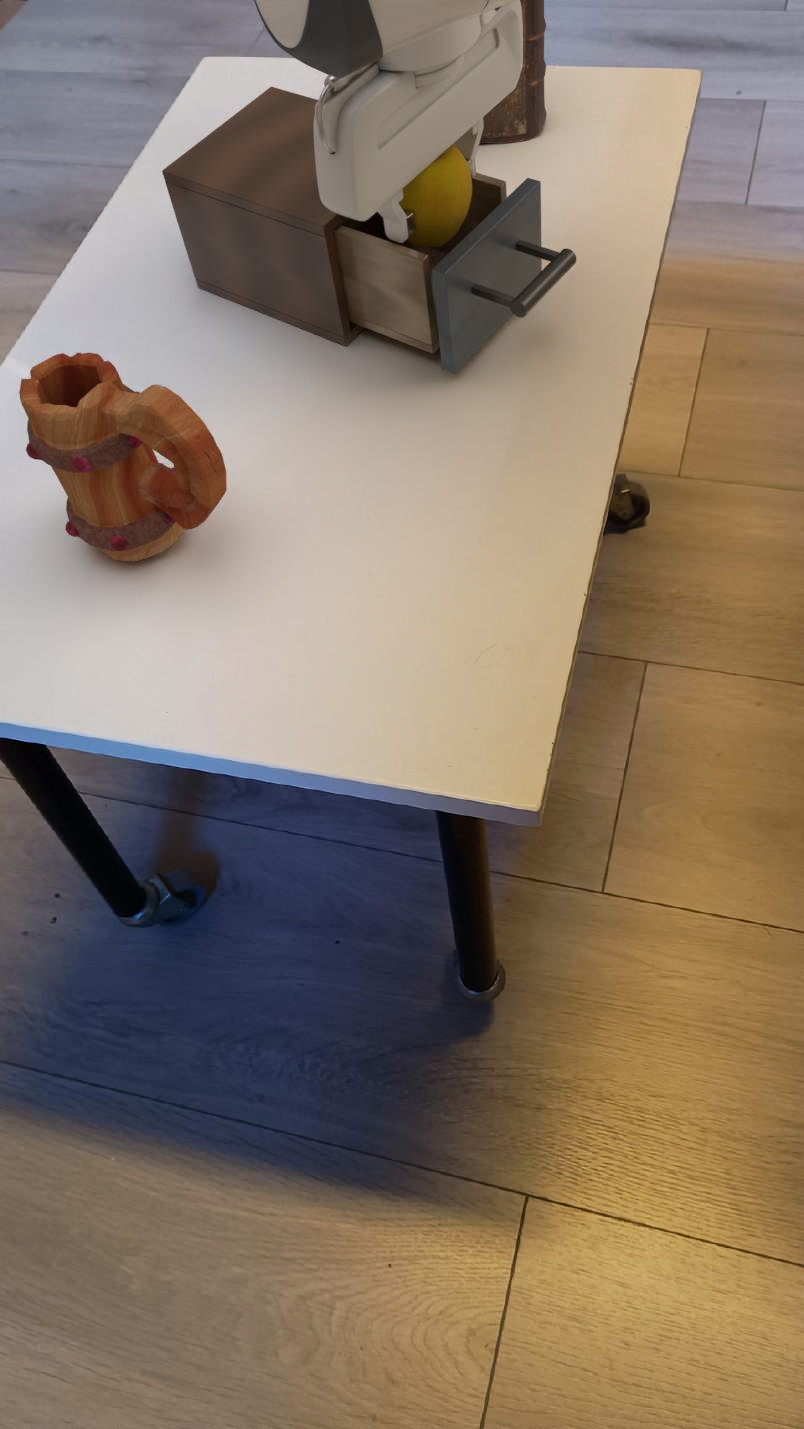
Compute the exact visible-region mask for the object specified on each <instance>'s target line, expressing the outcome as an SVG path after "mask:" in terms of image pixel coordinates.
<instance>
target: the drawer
mask: <svg viewBox="0 0 804 1429" xmlns="http://www.w3.org/2000/svg"><path fill="white" fill-rule="evenodd" d="M541 184H542V181H540V180H537V179H534V178H530V177H526V179H524V181H522V183H520V184H519V185H518V186H517V187H516V188H515V189H514V190H513V191H512V192H511V193H510V194H509V195H508V196H507V181H506V180H503V179H500V178H496V177H493V176H489V175H487V174H482V173H479V172H476V176H475V177H474V178H473V179H472V197H471V202H470V206H469V210H468V213H467V215H466V218H465V220H464V222H463V223H462V225H461V227H460V229H459V231H458V232H457V233H456V235H455V236H454V237H453V238H451V239H450V240H449V241H448V242H447V243H446V244H445V245H443V246H441V247H427V248H423V247H416V246H414V245H412V244H410V243H409V242H408V241H407V240H406V241H405V242H403V243H399V242H396V241H393V240H390V239H389V238H388V237H387V236H386V233H385V227H384V220H383V217H382V216H381V215H380V214H379V213H378V212H376V213H375V214H374V215H373V216H371V217H370V218H369V219H368V220H366V221H358V220H354V219H351V218H348V217H347V218H346V219H345V220H344V221H343V222H342V223H341V224H339V225H338V226H337V227H336V228H335V229H334V230H333V231H332V232H333V238H334V243H335V248H336V254H337V259H338V265H339V270H340V276H341V281H342V287H343V292H344V297H345V303H346V308H347V314H348V319H349V322H352V323H355V324H357V325H360V326H362V327H365V329H367V330H369V331H373V332H375V333H377V334H381V335H383V336H386V337H388V338H391V339H393V340H396V341H398V342H401V343H403V344H407V345H408V346H411V347H414V348H417V349H418V350H419V349H420V350H422V351H424V352H427V353H430V354H435V352H436V351H437V350H440V359H441V370H443V371H446V372H448V373H451V374H454V375H455V374H456V373H457V372H458V371H459V370H460V369H461V368H462V367H463V366H464V365H465V364H466V362H467V361H469V359H470V358H472V356H473V355H475V353H476V352H477V351H478V350H479V349H480V348H481V347H482V346H483V345H484V344H485V343H486V342H487V341H488V340H489V339H490V338H491V337H492V335H494V334H495V333H496V331H498V330H499V329H500V328H501V326H503V324H504V323H505V322H506V321H507V320H508V319H510V318H511V316H512V315H513V316H515V317H517V318H519V319H523V318H525V317H526V316H527V315H528V314H529V313H530V311H532V309H534V307H535V306H537V304H538V303H539V302H540V301H541V300H543V298H544V297H545V296H546V295H547V294H548V293H549V292H550V291H551V289H553V288H554V287H555V285H557V283H558V282H559V281H561V279H562V278H563V277H564V276H565V275H566V274H567V273H568V272H569V271H571V269H572V268H573V267H574V266H575V265H576V263H577V255H576V253H575V252H574V251H573V250H572V249H569V248H563V249H562V250H560V251H557V250H553V249H551V248H547V247H544V246H542V186H541ZM542 261H547V262H549V263H547V265H546V266H544V268H543V266H542V265H543V262H542ZM542 268H543V269H542Z"/></svg>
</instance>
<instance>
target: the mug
mask: <svg viewBox="0 0 804 1429" xmlns="http://www.w3.org/2000/svg"><path fill="white" fill-rule="evenodd" d="M29 374H30V378H21V379H20V386H19V392H18V393H19V401H20V404H21V406H22V408H23V410H24V413H25V414H26V416H27V422H26V424H27V426H26V431H27V438H28V443H27V445H26V447H25V452H26V454H27V456H28V458H31V459H33V460H36V461H37V460H38V461H42V462H44V463H45V464H46V465H48V466H50V467H51V469H52V471H53V472H54V475H55V476H56V478H57V480H58V482H59V483H60V485H61V487H62V489H63V490H64V492H65V494H66V496H67V498H66V506H65V511H66V514H67V518H68V521H67V522H66V524H65V532H66V533H67V534H68V535H69V536H71V537H74V538H79V539H81V540H82V541H83V542H85V543H87V544H88V545H90V546H91V547H95V548H97V549H98V550H100V552H103V553H104V554H105V555H106V556H108V557H109V558H111V559H113V560H114V561H115V560H116V561H122V562H138V561H143V560H145V559H148V558H150V557H152V556H155V555H159V554H160V553H162V552H164V551H166V550H168V549H170V548H171V547H172V546H173V544H175V543H176V542H177V541H178V540H179V539H180V537H181V535H182V533H183V531H184V530H185V531H189V530H193V529H196V528H197V527H199V526H201V525H202V524H203V523H204V522H206V520H207V519H208V518H209V517H210V515H211V514H212V513H213V511H214V510H215V509H216V507H217V506H218V505H219V503H220V502H221V500H222V498H223V497H224V496H225V494H226V493H227V490H228V489H227V485H228V484H227V468H226V465H225V460H224V456H223V454H222V451H221V449H220V448H219V446H218V444H217V442H216V440H215V438H214V436H213V434H212V433H211V431H210V430H209V428H208V426H207V424H206V423H205V422H204V420H202V418H201V417H200V416H199V415H198V413H197V412H195V411H194V410H193V408H192V407H191V406H190V405H189V404H188V403H187V402H186V401H185V400H184V399H183V398H182V397H181V396H180V395H179V394H177V393H176V392H174V391H173V390H171V389H170V388H168V387H167V386H164V385H160V384H151V385H149V386H148V387H147V388H145V389H144V390H142V391H141V392H140V391H137V390H136V391H134V390H133V389H131V388H130V387H129V386H127V385H126V384H124V383H123V381H122V379H121V377H120V374H119V372H118V371H117V368H116V366H115V365H114V364H113V363H112V362H110V361H109V360H104V359H103V356H101V355H100V354H98V353H95V352H84V353H82V352H76V353H75V354H74V355H73V356H70V355H68V354H66V353H64V352H61V353H57V354H55V355H52V356H50V357H49V358H46V359H45V360H43V361H41V362H39V363H37V364H36V365H34V366H32V367H31V369H30V371H29ZM155 452H156V453H158V454H159V455H160V456H162V457H163V458H165V459H166V460H168V461H169V462H170V463H172V464H173V467H169V466H167V465H165V464H164V463H162V462H159V460H158V458H157V456H156V453H155Z"/></svg>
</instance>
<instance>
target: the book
mask: <svg viewBox="0 0 804 1429" xmlns="http://www.w3.org/2000/svg"><path fill="white" fill-rule="evenodd" d="M520 2H521V7H522V21H523V65H522V70H521V73H520V77H519V80H518V83H517V85H516V87H515V89H514V90H513V91H512V92H511V93H510V94H508V95H507V96H506V97H505V98H504V99H503V100H502V101H500V102H499V103H498V104H497V105H496V106H495V107H494V108H493V109H491V110H490V111H489V112H488V113H487V114H486V115H485V116H484V117H483V123H484V128H483V132H482V135H481V139H480V143H479V144H508V143H517V142H522V141H528V140H530V139H531V138H533V136H537V135H538V134H539V133H540V132H541V131H542V130H543V129H544V127H545V124H546V121H547V110H546V103H545V77H546V72H547V71H546V70H547V63H546V61H545V32H546V28H547V22H546V19H545V0H520Z"/></svg>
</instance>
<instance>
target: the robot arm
mask: <svg viewBox="0 0 804 1429" xmlns="http://www.w3.org/2000/svg"><path fill="white" fill-rule="evenodd" d="M253 1H254V4H255V7H256V10H257V13H258V15H259V17H260V19H261V21H262V23H263V26H264V27H265V29H266V31H267V33H268V34H269V36H270V37H271V39H272V41H273V42H274V43H275V45H277V46H278V47H279V48H280V49H281V50H283V52H285V53H287V54H288V55H290V57H292V58H294V59H295V60H297V61H298V62H301V63H302V64H304V65H306V66H307V67H310V68H312V69H314V70H317V71H319V72H320V73H323V74H326V75H327V76H326V78H325V79H324V80H323V84H324V87H323V89H322V90H321V93H320V95H319V98H318V100H319V101H318V102H317V103H316V105H315V115H314V152H315V164H316V174H317V182H318V190H319V195H320V199H321V202H322V204H323V205H324V206H325V207H327V208H328V209H329V210H331V211H332V212H334V213H337V214H339V215H342V216H344V217H348V218H351V219H354V220H358V221H366V220H368V219H369V218H370V217H371V216H373V215H374V214H375V213H376V212H378V213H379V214H380V215H381V216H382V217H383V220H384V227H385V233H386V236H387V237H388V238H389V239H390V240H393V241H396V242H399V243H403V242H405V241H406V240H407V239H408V238H409V237H410V236H411V235H412V234H413V233H414V232H415V230H416V226H415V225H414V222H415V217H414V212H412V211H409V210H403V209H402V208H401V206H400V205H399V203H398V202H400V201H401V200H402V199H403V190H402V189H403V188H404V187H405V186H406V185H407V184H408V183H410V182H411V181H412V180H413V179H414V178H415V177H416V176H417V175H419V174H420V173H421V172H422V171H423V170H424V169H425V168H426V167H428V166H429V165H430V164H431V163H432V162H433V161H434V160H435V159H436V158H438V157H439V156H440V155H441V154H442V153H443V152H444V151H445V150H447V149H448V148H449V147H450V146H451V145H454V146H455V147H456V148H457V149H458V150H459V151H460V152H461V153H462V155H463V156H464V158H465V160H466V161H467V163H468V166H469V169H470V173H471V179H473V178H474V177H475V176H476V173H477V163H476V156H477V153H478V150H479V146H480V144H481V143H480V139H481V135H482V132H483V128H484V123H483V117H484V116H485V115H486V114H487V113H488V112H489V111H490V110H491V109H493V108H494V107H495V106H496V105H497V104H498V103H499V102H500V101H502V100H503V99H504V98H505V97H506V96H507V95H508V94H510V93H511V92H512V91H513V90H514V89H515V87H516V85H517V83H518V80H519V77H520V73H521V70H522V65H523V21H522V7H521V2H520V0H253Z"/></svg>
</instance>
